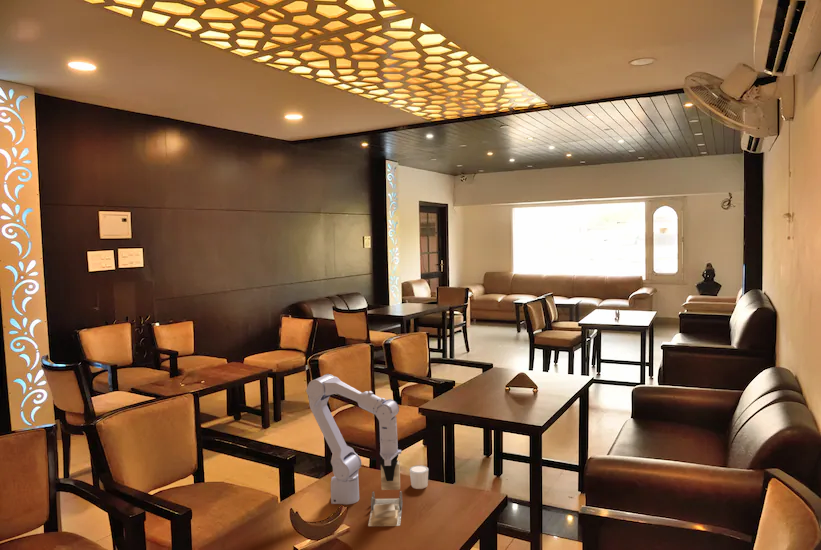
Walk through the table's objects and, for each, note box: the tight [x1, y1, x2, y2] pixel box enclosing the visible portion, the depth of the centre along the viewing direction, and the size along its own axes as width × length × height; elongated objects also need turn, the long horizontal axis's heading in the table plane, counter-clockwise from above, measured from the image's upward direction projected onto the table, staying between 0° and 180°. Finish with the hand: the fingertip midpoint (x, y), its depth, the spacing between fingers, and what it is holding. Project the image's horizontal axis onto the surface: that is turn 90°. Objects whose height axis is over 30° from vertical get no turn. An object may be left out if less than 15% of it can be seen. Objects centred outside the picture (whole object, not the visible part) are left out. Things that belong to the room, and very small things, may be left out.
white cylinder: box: [408, 465, 429, 490], centre depth 198 cm, size 7×7×7 cm
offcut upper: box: [374, 504, 396, 518], centre depth 174 cm, size 6×4×2 cm
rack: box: [367, 490, 403, 527], centre depth 178 cm, size 10×16×5 cm, turn 178°
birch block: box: [380, 460, 401, 491], centre depth 182 cm, size 6×3×8 cm, turn 88°
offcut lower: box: [371, 510, 398, 524], centre depth 174 cm, size 8×5×2 cm, turn 88°
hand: (390, 478), depth 182 cm, fingers closed on birch block, 3 cm apart
